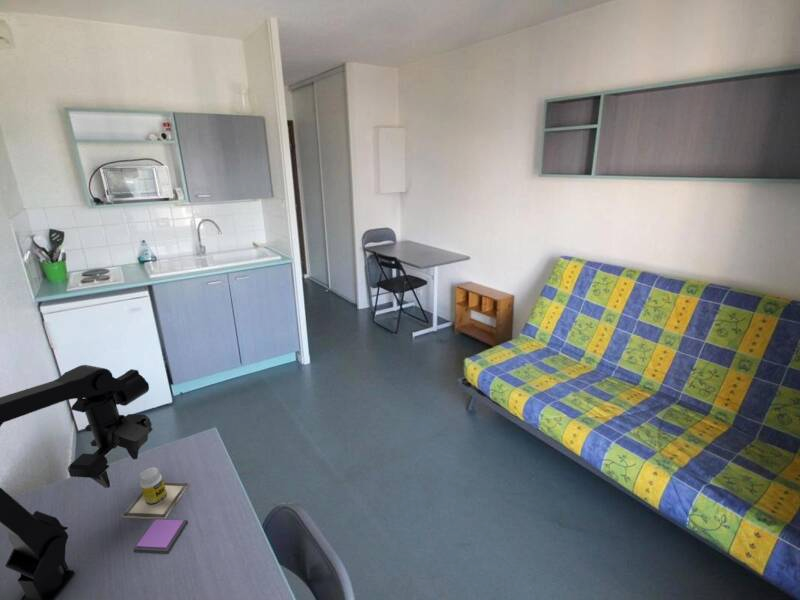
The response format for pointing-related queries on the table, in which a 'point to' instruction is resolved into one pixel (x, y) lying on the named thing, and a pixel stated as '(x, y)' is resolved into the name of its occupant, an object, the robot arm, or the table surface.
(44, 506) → the table surface
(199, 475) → the table surface
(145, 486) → the supplement bottle
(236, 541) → the table surface
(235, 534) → the table surface
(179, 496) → the marked board
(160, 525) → the ink pad
